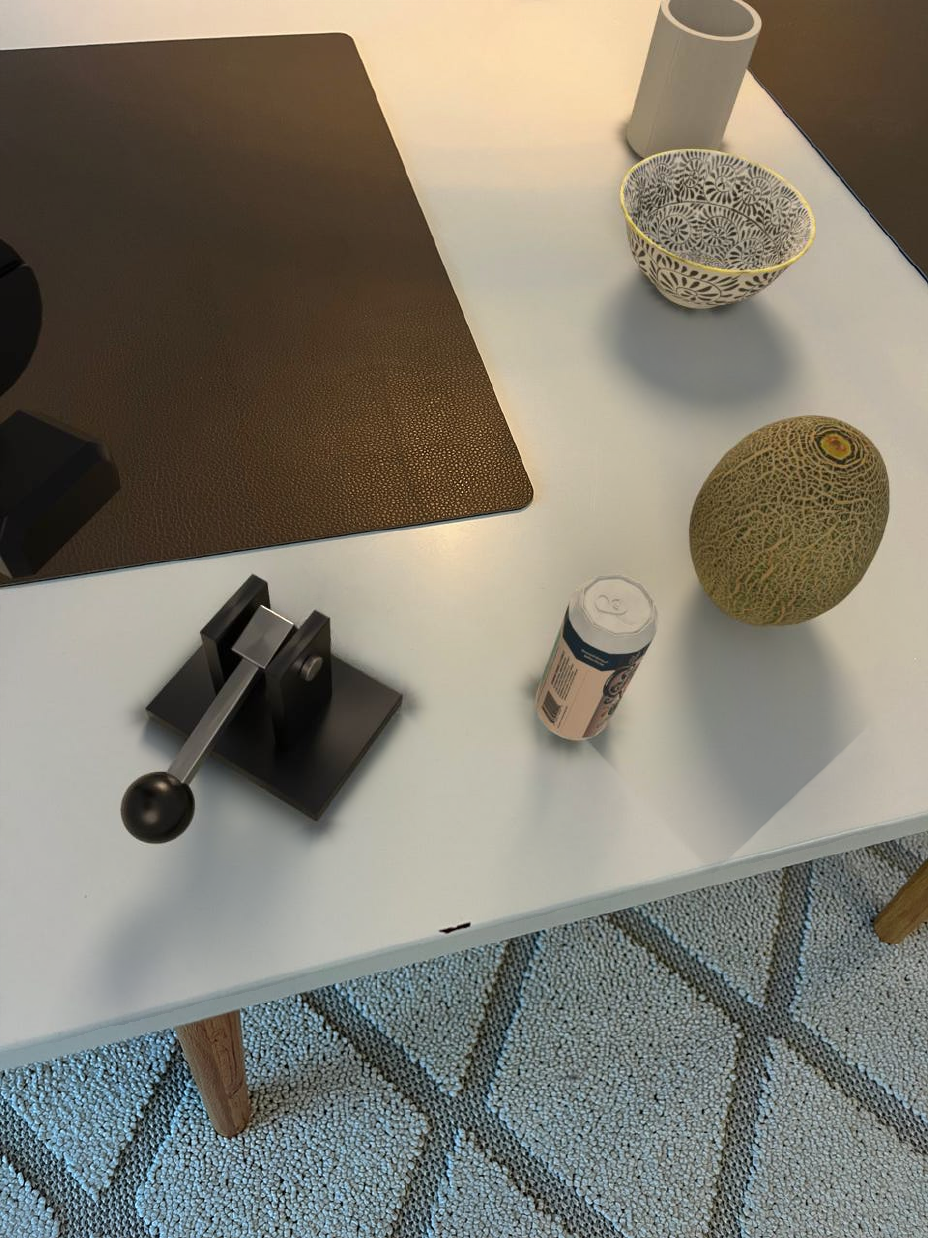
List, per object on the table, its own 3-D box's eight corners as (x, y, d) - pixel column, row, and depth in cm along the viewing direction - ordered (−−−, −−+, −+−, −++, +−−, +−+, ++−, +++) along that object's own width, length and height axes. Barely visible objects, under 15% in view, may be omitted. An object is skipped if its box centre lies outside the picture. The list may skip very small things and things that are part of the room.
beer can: (606, 750, 58) (661, 652, 48) (529, 736, 58) (568, 634, 48) (611, 682, 60) (665, 575, 50) (538, 668, 60) (576, 558, 50)
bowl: (668, 367, 77) (696, 290, 70) (566, 248, 83) (584, 169, 77) (816, 318, 82) (855, 242, 76) (709, 210, 89) (736, 133, 82)
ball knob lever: (178, 859, 49) (152, 856, 45) (123, 823, 50) (94, 817, 46) (317, 645, 52) (303, 627, 48) (264, 614, 53) (246, 593, 49)
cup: (608, 132, 94) (640, 2, 84) (669, 107, 98) (707, -21, 88) (674, 180, 91) (715, 50, 81) (735, 151, 94) (781, 24, 84)
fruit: (631, 562, 66) (698, 406, 53) (748, 501, 70) (835, 344, 57) (740, 688, 61) (842, 550, 49) (858, 615, 65) (980, 471, 53)
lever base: (316, 822, 53) (311, 750, 45) (148, 717, 56) (113, 630, 48) (402, 703, 58) (411, 618, 50) (243, 610, 60) (226, 514, 52)
